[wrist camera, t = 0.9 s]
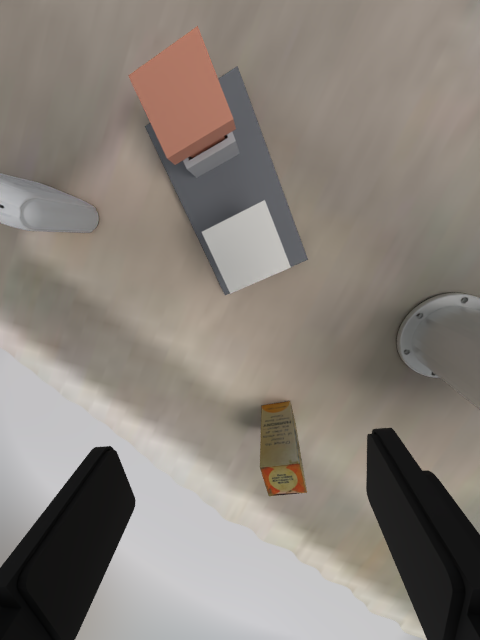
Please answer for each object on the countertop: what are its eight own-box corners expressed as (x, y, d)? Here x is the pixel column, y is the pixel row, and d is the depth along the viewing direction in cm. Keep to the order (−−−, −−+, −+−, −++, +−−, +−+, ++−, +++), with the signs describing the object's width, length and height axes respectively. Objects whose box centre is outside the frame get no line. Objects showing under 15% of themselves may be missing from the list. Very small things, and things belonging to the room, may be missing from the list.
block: (239, 77, 28) (232, 37, 22) (305, 258, 34) (313, 262, 28) (152, 133, 31) (126, 109, 25) (227, 292, 36) (220, 302, 31)
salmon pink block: (213, 75, 24) (197, 26, 18) (240, 145, 26) (233, 118, 20) (158, 111, 25) (128, 75, 20) (187, 175, 27) (167, 158, 21)
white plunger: (264, 207, 27) (264, 199, 22) (285, 261, 29) (290, 267, 23) (213, 233, 29) (201, 232, 23) (236, 283, 30) (230, 293, 25)
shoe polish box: (267, 428, 43) (268, 496, 32) (261, 405, 42) (260, 467, 31) (295, 424, 43) (306, 492, 31) (290, 401, 41) (299, 463, 30)
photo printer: (29, 209, 35) (-88, 196, 24) (32, 177, 34) (-91, 146, 22) (97, 237, 35) (15, 236, 24) (102, 206, 34) (18, 190, 22)
